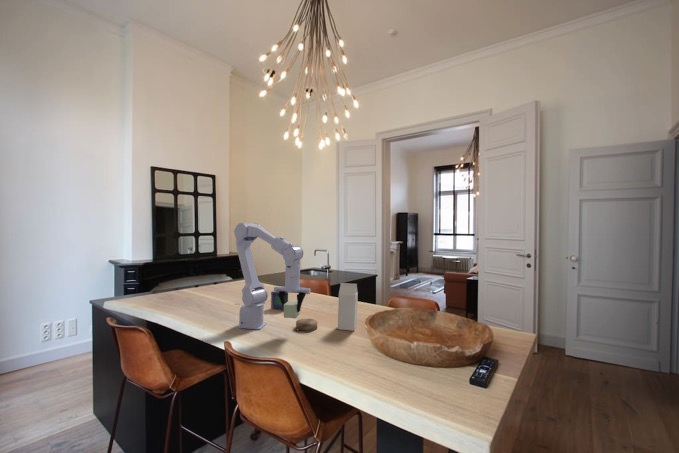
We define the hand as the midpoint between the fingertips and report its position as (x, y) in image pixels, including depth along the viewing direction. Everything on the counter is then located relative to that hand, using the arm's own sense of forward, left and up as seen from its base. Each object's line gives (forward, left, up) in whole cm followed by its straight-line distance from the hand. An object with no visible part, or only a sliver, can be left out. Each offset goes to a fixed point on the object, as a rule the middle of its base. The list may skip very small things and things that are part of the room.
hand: (291, 310), depth 123 cm
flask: (-16, +33, -10) cm, 38 cm away
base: (+4, +9, -9) cm, 14 cm away
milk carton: (+21, +13, -10) cm, 26 cm away
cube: (0, 0, -2) cm, 2 cm away
